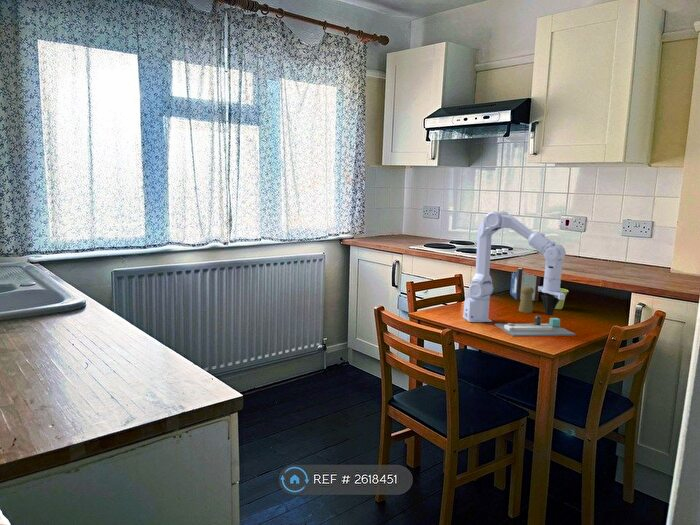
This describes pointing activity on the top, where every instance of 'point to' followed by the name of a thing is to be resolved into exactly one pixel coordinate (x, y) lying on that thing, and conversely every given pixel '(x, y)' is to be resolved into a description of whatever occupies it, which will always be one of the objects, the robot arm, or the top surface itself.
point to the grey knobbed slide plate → (534, 330)
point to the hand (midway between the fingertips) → (548, 314)
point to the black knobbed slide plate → (537, 323)
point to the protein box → (524, 284)
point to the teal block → (554, 322)
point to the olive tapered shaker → (526, 300)
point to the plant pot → (561, 302)
